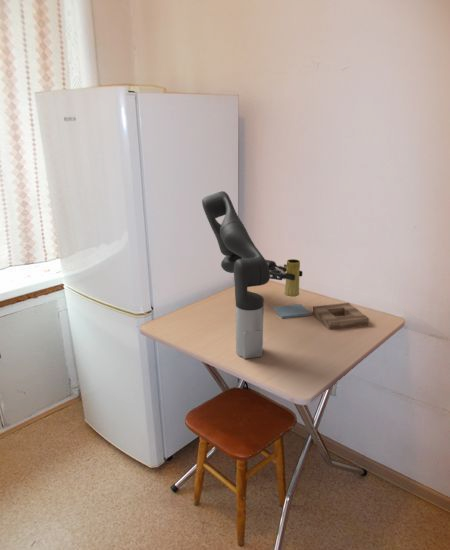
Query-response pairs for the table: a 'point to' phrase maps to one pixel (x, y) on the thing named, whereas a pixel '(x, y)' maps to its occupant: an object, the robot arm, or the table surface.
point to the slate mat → (291, 311)
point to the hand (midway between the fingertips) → (298, 275)
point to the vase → (291, 285)
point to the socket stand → (349, 320)
